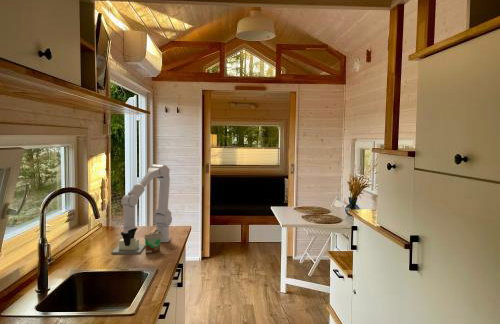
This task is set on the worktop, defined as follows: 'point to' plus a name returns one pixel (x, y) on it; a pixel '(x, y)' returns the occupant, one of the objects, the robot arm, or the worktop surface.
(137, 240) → the housing cap
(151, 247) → the food container
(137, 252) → the stub board
